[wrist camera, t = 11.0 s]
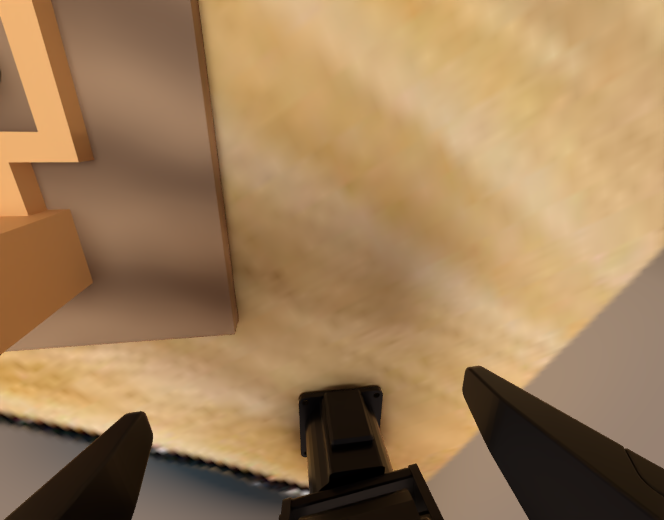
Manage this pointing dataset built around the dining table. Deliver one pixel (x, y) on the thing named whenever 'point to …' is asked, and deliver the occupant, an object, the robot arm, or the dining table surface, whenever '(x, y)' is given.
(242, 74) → the dining table surface
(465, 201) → the dining table surface
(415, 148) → the dining table surface
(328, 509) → the robot arm
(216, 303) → the board
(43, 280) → the square frame with handle
